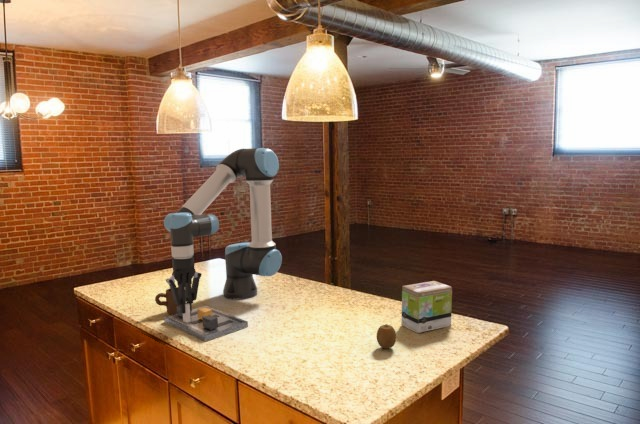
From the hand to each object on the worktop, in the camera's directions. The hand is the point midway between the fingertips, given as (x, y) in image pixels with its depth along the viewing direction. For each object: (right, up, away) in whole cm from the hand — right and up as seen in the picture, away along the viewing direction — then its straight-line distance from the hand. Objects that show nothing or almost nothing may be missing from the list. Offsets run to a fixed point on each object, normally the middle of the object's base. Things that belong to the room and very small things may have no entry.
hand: (186, 321), depth 169 cm
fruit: (+69, -4, -19) cm, 72 cm away
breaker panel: (+5, -3, +6) cm, 8 cm away
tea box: (+86, -2, 0) cm, 86 cm away
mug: (-12, -2, +19) cm, 22 cm away
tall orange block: (+5, 0, +5) cm, 8 cm away
